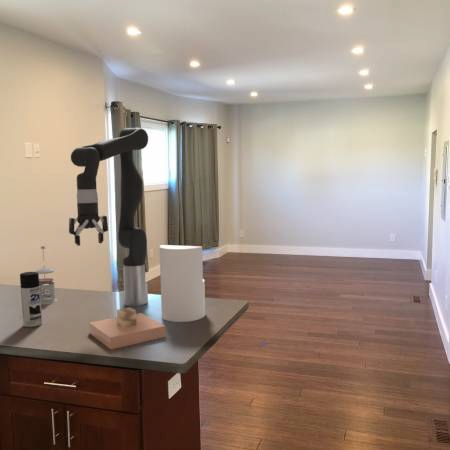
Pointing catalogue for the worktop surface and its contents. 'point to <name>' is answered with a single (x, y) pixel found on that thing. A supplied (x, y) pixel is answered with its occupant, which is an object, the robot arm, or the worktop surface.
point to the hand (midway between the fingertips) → (89, 244)
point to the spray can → (30, 299)
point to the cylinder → (182, 283)
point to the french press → (46, 297)
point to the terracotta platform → (126, 331)
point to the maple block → (126, 317)
